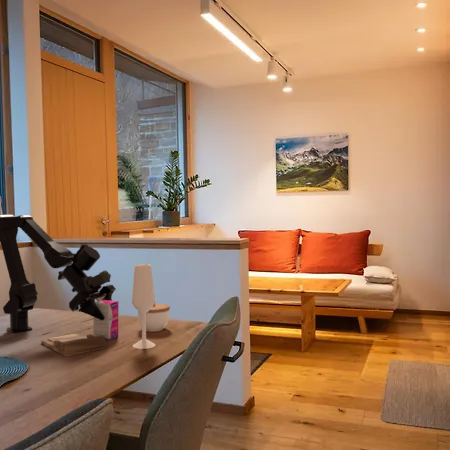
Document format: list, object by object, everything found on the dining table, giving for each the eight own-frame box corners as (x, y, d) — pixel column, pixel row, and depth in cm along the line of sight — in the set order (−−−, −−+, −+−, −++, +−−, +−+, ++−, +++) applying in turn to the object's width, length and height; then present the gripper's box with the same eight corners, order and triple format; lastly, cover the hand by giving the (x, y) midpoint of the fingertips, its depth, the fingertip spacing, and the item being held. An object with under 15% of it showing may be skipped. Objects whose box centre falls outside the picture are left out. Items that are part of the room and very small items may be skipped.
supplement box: (109, 340, 161) (108, 303, 160) (92, 339, 163) (92, 302, 162) (119, 336, 166) (118, 300, 166) (103, 334, 168) (102, 299, 168)
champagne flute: (143, 341, 159) (142, 263, 158) (160, 344, 156) (159, 264, 155) (127, 346, 154) (126, 265, 153) (144, 350, 150) (143, 267, 149)
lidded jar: (131, 331, 172) (130, 303, 171) (148, 324, 182) (147, 297, 181) (160, 334, 168) (159, 305, 167) (175, 327, 178) (175, 299, 177)
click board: (41, 343, 158) (41, 332, 158) (78, 336, 166) (78, 325, 166) (66, 356, 144) (65, 344, 144) (105, 348, 152) (105, 336, 152)
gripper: (76, 267, 156) (108, 305, 153) (110, 260, 173) (140, 294, 170) (54, 291, 159) (86, 330, 156) (90, 282, 176) (119, 317, 173)
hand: (109, 317), depth 164 cm, fingers open, 7 cm apart
